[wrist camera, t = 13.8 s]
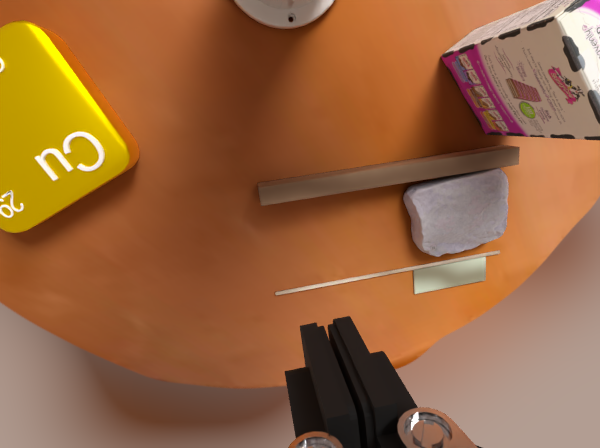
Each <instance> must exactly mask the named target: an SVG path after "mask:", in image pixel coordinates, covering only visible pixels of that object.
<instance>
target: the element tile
mask: <svg viewBox="0 0 600 448" xmlns="http://www.w3.org/2000/svg"><path fill="white" fill-rule="evenodd" d="M139 154H140V151H139V147H138V144H137V142H136V140H135V139H134V137H133V136H132V135H131V133H130V132H129V130H128V129H127V128H126V126H125V125H124V124H123V122H122V121H121V119H120V118H119V117H118V115H117V114H116V112H115V111H114V110H113V108H112V107H111V105H110V104H109V103H108V101H107V100H106V99H105V97H104V96H103V94H102V93H101V92H100V90H99V89H98V87H97V86H96V85H95V83H94V82H93V80H92V79H91V78H90V76H89V75H88V74H87V72H86V71H85V69H84V68H83V67H82V65H81V64H80V62H79V61H78V60H77V58H76V57H75V55H74V54H73V53H72V51H71V50H70V49H69V47H68V46H67V44H66V43H65V42H64V41H63V40H62V39H61V38H60V37H59V36H58V35H56V34H55V33H54V32H52V31H50V30H48V29H45V28H43V27H41V26H39V25H36V24H34V23H31V22H28V21H24V20H22V21H13V22H11V23H8V24H6V25H4V26H3V27H1V28H0V229H2V230H4V231H6V232H11V233H19V232H24V231H27V230H29V229H31V228H33V227H35V226H37V225H39V224H40V223H42V222H44V221H46V220H48V219H49V218H51V217H53V216H54V215H56V214H57V213H59V212H61V211H62V210H64V209H66V208H67V207H69V206H70V205H72V204H74V203H75V202H77V201H79V200H80V199H82V198H83V197H85V196H87V195H88V194H90V193H92V192H93V191H95V190H96V189H98V188H100V187H101V186H103V185H105V184H106V183H108V182H110V181H111V180H113V179H114V178H116V177H118V176H119V175H121V174H123V173H124V172H126V171H127V170H129V169H131V168H132V167H133V166H134V165H135V164H136V162H137V161H138V159H139Z"/></svg>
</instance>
